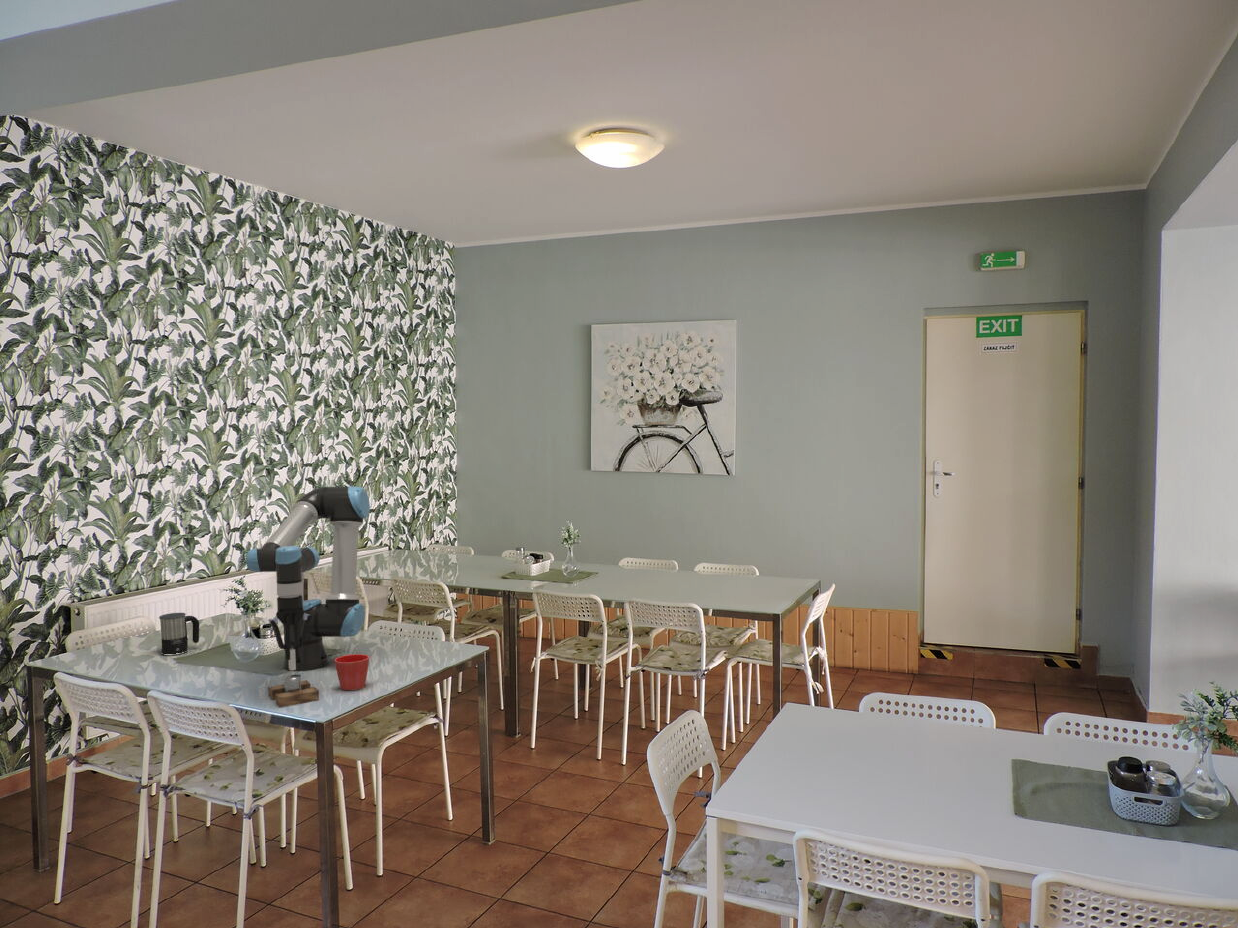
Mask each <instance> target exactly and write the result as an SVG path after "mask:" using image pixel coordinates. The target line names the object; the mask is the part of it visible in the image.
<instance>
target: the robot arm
mask: <svg viewBox="0 0 1238 928" xmlns="http://www.w3.org/2000/svg"><path fill="white" fill-rule="evenodd" d="M368 495H369V494H368V493H367V491H366V490H365V489H364V488H363V487H360V486H352V485H351V486H350V485H349V486H321V487H317V488H314V489H313V490H310V491H309V492H307V493H305V494H304V495H302V496H301V497H299V499H298V500H297V501H295V503H294V504H293V505H292V507H291V512H290V514H288V516H287V517H286V518H285V519H284V520H283V522H282V523H281V524H280V525H279V527H277V529H276V530H275V531H274V532H273V533H272V534H271V536H270V537H269V538H268V539H267V541H265V543H264V544H263V545H262V546H261V547H260V548H257V547H256V548H252V549H250V550H249V551H248V552H247V553H246V556H245V564H246V567H247V570H249V571H250V572H258V573H265V572H266V573H271V572H272V573H273V572H274V573H276V595H277V598H276V603H277V604H276V606H277V607H276V608H277V610H276V614H275V616H274V617H272V618H270V619H269V620H268V623H269V624H270V625H271V626H272V629H273V632H274V633H273V634H274V636H275V640H276V643H277V646H278V648H279V649H281V650H284V660H283V668H284V669H286V670H289V671H309V670H315V669H319V668H322V667H325V666H327V665H328V664H329V655H328V652H327V650H326V647H325V644H324V642H323V641H324V640H323V637H325V638H326V637H327V638H328V637H329V638H331V637H332V638H348V637H355V636H357V635H358V634H359V633H360V632H361V630H362V628H363V625H364V622H365V618H366V617H365V616H366V610H365V606H364V605H363V604H362V603H360V598H359V597H358V596H357V595H356V591H357V590H356V585H357V568H358V567H357V566H358V565H357V564H358V562H357V561H358V546H359V545H358V543H359V528H360V527H362V526H363V525H364V520H366V519H367V518H368V517H369V514H370V512H371V505H370V504H371V503H370V499H369V496H368ZM321 519H326V520H327V519H328V520H329V524H330V525H331V526H332V527H333V540H332V560H331V561H332V563H331V580H330V581H331V582H330V594H329V595H328V596H327V597H326V598H325V603H322V599H319V598H312V599H307V600H306V599H305V600H303V595H302V594H303V579H302V577H303V576H302V574H303V573H305V572H309V571H312V570H313V569H315V568H316V567H317V566H318V565H319V562H320V554H319V552H318V550H316V549H315V548H314V547H311V546H308V547H307V546H306V547H305V546H304V547H299V545H295V543H296V542H297V541H298V539H300V537H301V536H302V535H303V533H304V532H305V530H306V529H307V528H308V527H309V526H311V525H312V524H315V522H317V521H318V520H321ZM279 622H280V623H281V624H282V625H283V638H282V635H281V631H280V628H279Z"/></svg>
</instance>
